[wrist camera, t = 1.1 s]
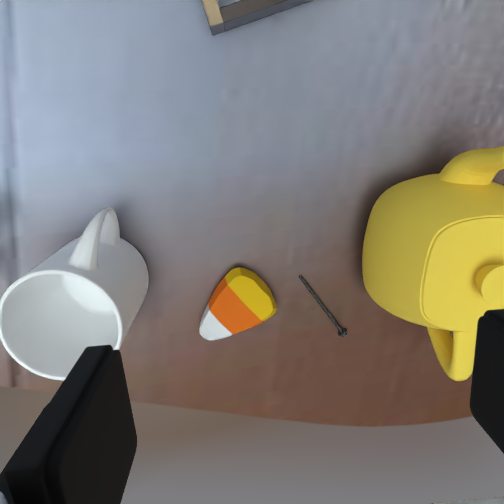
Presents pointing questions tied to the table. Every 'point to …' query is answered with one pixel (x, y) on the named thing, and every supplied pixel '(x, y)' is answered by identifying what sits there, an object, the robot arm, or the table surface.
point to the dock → (243, 12)
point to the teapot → (441, 253)
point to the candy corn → (237, 305)
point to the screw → (342, 331)
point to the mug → (74, 300)
